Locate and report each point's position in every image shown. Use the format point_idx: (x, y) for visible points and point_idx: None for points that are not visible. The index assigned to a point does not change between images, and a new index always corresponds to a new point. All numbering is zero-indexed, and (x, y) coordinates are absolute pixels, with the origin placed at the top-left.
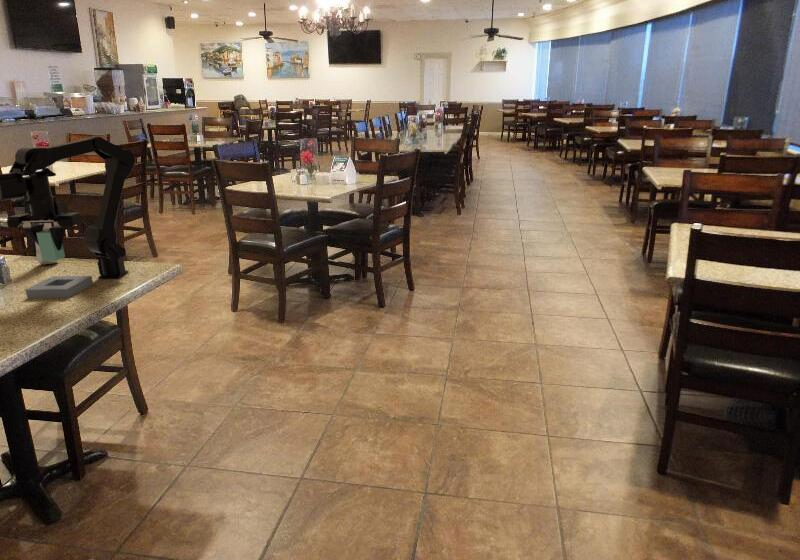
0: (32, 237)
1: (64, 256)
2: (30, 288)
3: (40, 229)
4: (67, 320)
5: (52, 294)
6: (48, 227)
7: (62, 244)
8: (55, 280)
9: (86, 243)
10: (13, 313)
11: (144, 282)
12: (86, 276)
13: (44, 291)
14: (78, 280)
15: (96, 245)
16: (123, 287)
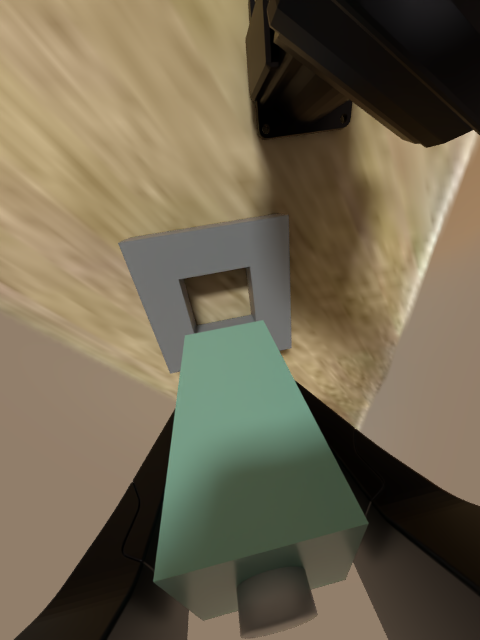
0: None
1: (263, 325)
2: (176, 364)
3: (142, 634)
4: (351, 412)
5: None
6: None
7: (286, 366)
8: (180, 283)
9: (289, 7)
10: None
11: (451, 172)
12: (273, 226)
13: None
14: (273, 276)
15: (434, 128)
16: (394, 235)
